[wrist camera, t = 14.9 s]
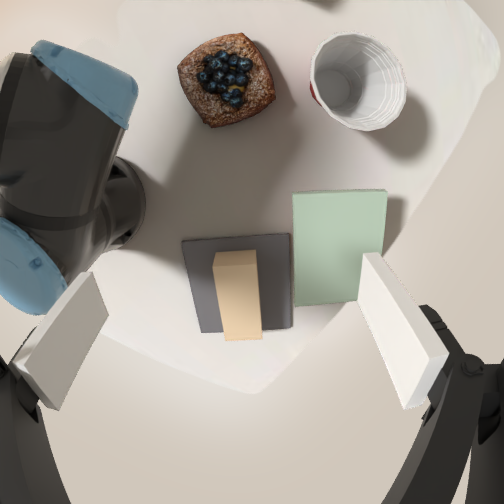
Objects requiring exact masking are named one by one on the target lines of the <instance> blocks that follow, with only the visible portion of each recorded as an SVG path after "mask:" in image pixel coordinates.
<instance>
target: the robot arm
mask: <svg viewBox="0 0 504 504" xmlns="http://www.w3.org/2000/svg"><path fill="white" fill-rule="evenodd" d="M31 52H32V53H31V54H23V53H16V52H15V53H14V52H13V53H11V54H9V55H8V56H7V57H5V58H4V59H2V60H1V61H0V295H1V296H2V297H3V298H4V299H5V300H7V301H8V302H9V303H10V304H11V305H13V306H14V307H16V308H17V309H19V310H21V311H23V312H25V313H27V314H31V315H45V317H44V318H43V319H42V321H41V322H40V323H39V325H38V326H36V327H35V328H34V329H33V330H32V331H31V333H30V334H29V335H28V337H27V339H25V341H24V342H23V345H21V347H20V348H19V349H18V351H17V352H16V353H15V355H14V357H13V358H12V359H11V361H10V362H9V364H8V365H7V364H6V363H5V361H4V360H3V358H2V357H1V355H0V504H71V503H70V500H69V498H68V496H67V493H66V491H65V488H64V486H63V483H62V481H61V478H60V475H59V472H58V469H57V467H56V464H55V460H54V457H53V454H52V451H51V448H50V444H49V441H48V437H47V434H46V430H45V426H44V422H43V417H42V413H41V409H40V407H39V406H38V405H37V402H38V400H39V399H40V400H41V401H42V402H43V404H44V405H45V406H46V407H47V408H51V409H54V410H57V411H59V410H60V408H61V406H62V403H63V401H64V399H65V397H66V395H67V393H68V391H69V388H70V387H71V385H72V382H73V381H74V379H75V377H76V375H77V373H78V371H79V369H80V366H81V365H82V363H83V361H84V359H85V357H86V355H87V353H88V351H89V350H90V348H91V346H92V344H93V342H94V341H95V339H96V337H97V335H98V333H99V332H100V330H101V328H102V326H103V324H104V323H105V321H106V319H107V317H108V316H109V314H108V311H107V309H106V307H105V304H104V302H103V299H102V296H101V294H100V291H99V289H98V286H97V283H96V280H95V278H94V275H93V272H86V271H87V270H88V269H89V268H90V267H91V265H92V264H93V263H94V262H95V261H96V260H97V258H98V257H99V256H100V255H101V254H103V253H105V252H108V251H111V250H114V249H117V248H119V247H121V246H123V245H124V244H126V243H127V242H128V241H129V240H130V239H131V238H132V237H133V236H134V235H135V233H136V232H137V231H138V229H139V228H140V226H141V224H142V221H143V218H144V214H145V195H144V190H143V187H142V184H141V182H140V180H139V178H138V176H137V175H136V173H135V172H134V170H133V169H132V168H131V167H130V166H129V165H128V164H127V163H126V162H124V161H123V160H121V159H120V158H118V157H116V154H117V151H118V149H119V146H120V143H121V141H122V138H123V135H124V133H125V130H128V127H129V124H128V121H129V118H130V115H131V113H132V110H133V107H134V105H135V102H136V99H137V97H138V85H137V83H136V81H135V79H134V78H133V77H131V76H130V75H128V74H126V73H125V72H123V71H121V70H119V69H117V68H114V67H112V66H110V65H108V64H106V63H103V62H101V61H99V60H97V59H94V58H92V57H89V56H87V55H84V54H82V53H79V52H77V51H74V50H71V49H69V48H65V47H62V46H60V45H57V44H54V43H52V42H49V41H46V40H40V41H38V42H37V43H36V44H35V45H34V46H33V47H32V48H31ZM357 303H358V305H359V307H360V309H361V311H362V313H363V315H364V317H365V320H366V322H367V324H368V326H369V328H370V331H371V333H372V335H373V337H374V339H375V342H376V344H377V346H378V349H379V351H380V353H381V355H382V358H383V360H384V362H385V365H386V367H387V370H388V372H389V374H390V377H391V379H392V382H393V384H394V386H395V389H396V392H397V394H398V396H399V399H400V401H401V404H402V407H403V409H404V410H406V409H410V408H414V407H417V406H420V405H422V404H423V402H424V400H425V399H426V397H427V396H428V398H429V400H430V402H431V404H430V406H429V408H428V409H427V411H426V412H425V414H424V415H423V417H422V419H423V423H422V425H421V428H420V430H419V432H418V435H417V437H416V439H415V441H414V444H413V446H412V448H411V450H410V452H409V454H408V456H407V458H406V460H405V462H404V464H403V466H402V468H401V470H400V472H399V474H398V476H397V478H396V479H395V481H394V483H393V485H392V487H391V488H390V490H389V492H388V494H387V495H386V497H385V499H384V500H383V502H382V503H381V504H451V502H452V499H453V497H454V495H455V492H456V489H457V487H458V485H459V482H460V479H461V477H462V474H463V471H464V468H465V465H466V462H467V459H468V456H469V453H470V449H471V461H470V473H469V480H468V488H467V494H466V500H465V504H504V359H503V360H502V362H501V364H484V362H483V361H482V360H481V359H480V358H479V357H477V356H475V355H472V354H465V352H464V351H463V349H462V348H461V346H460V345H459V343H458V342H457V340H456V339H455V337H454V336H453V334H452V333H451V332H450V330H449V329H447V326H446V324H445V323H444V322H443V321H442V319H441V317H440V316H439V315H438V313H437V312H436V311H435V310H434V309H432V308H431V307H429V306H428V305H421V306H418V305H417V304H416V302H415V301H414V299H413V298H412V296H411V295H410V294H409V292H408V291H407V289H406V288H405V287H404V285H403V284H402V283H401V281H400V280H399V279H398V277H397V276H396V275H395V273H394V272H393V271H392V269H391V268H390V267H389V265H388V264H387V263H386V262H385V260H384V259H383V258H382V256H381V255H380V254H379V253H378V252H372V253H363V260H362V269H361V277H360V285H359V292H358V299H357ZM471 446H472V447H471Z"/></svg>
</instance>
